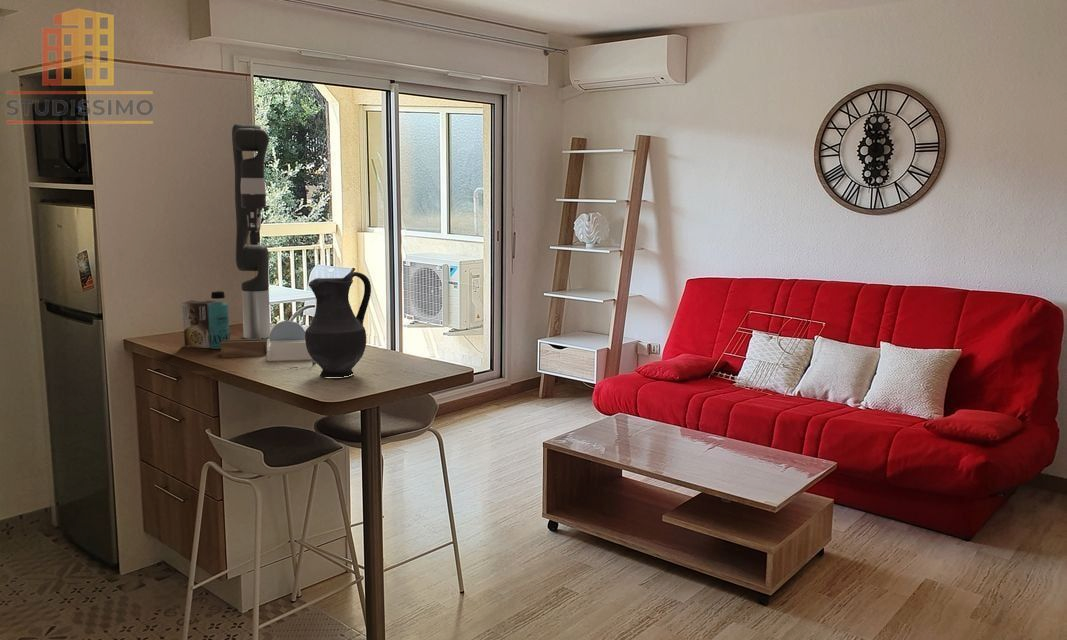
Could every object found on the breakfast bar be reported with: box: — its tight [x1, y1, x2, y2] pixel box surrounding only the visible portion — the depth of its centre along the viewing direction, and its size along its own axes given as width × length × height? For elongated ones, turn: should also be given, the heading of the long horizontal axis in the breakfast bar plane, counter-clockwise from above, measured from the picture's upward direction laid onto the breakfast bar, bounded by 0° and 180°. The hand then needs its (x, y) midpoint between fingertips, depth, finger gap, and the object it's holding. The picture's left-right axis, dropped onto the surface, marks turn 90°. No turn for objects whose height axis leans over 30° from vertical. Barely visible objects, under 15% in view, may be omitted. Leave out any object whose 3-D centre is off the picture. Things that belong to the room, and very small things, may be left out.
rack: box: [266, 340, 317, 364], centre depth 265 cm, size 13×15×6 cm
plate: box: [269, 320, 306, 343], centre depth 264 cm, size 2×11×11 cm, turn 104°
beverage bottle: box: [208, 290, 231, 350], centre depth 275 cm, size 6×7×20 cm
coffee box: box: [181, 299, 215, 349], centre depth 278 cm, size 9×6×16 cm
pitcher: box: [304, 271, 372, 378], centre depth 244 cm, size 17×21×30 cm
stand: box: [220, 338, 268, 358], centre depth 266 cm, size 6×14×6 cm, turn 104°
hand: (255, 243), depth 268 cm, fingers open, 8 cm apart
